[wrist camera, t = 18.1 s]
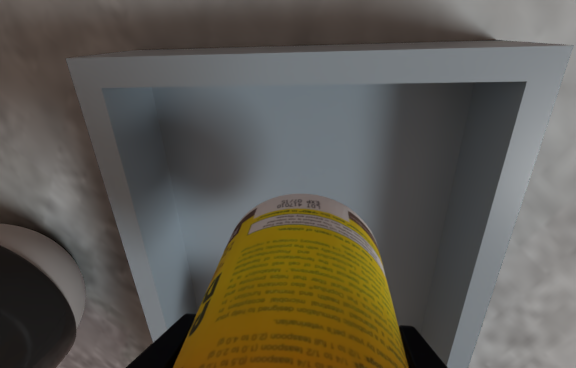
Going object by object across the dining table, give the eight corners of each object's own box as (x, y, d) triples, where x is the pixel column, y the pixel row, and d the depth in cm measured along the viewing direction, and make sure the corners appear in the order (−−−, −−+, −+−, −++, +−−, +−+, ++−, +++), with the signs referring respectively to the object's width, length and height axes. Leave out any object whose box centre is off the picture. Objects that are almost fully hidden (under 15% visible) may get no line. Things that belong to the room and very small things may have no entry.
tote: (415, 394, 24) (434, 469, 20) (206, 378, 25) (184, 444, 21) (498, 40, 13) (573, 45, 9) (134, 50, 15) (65, 58, 11)
